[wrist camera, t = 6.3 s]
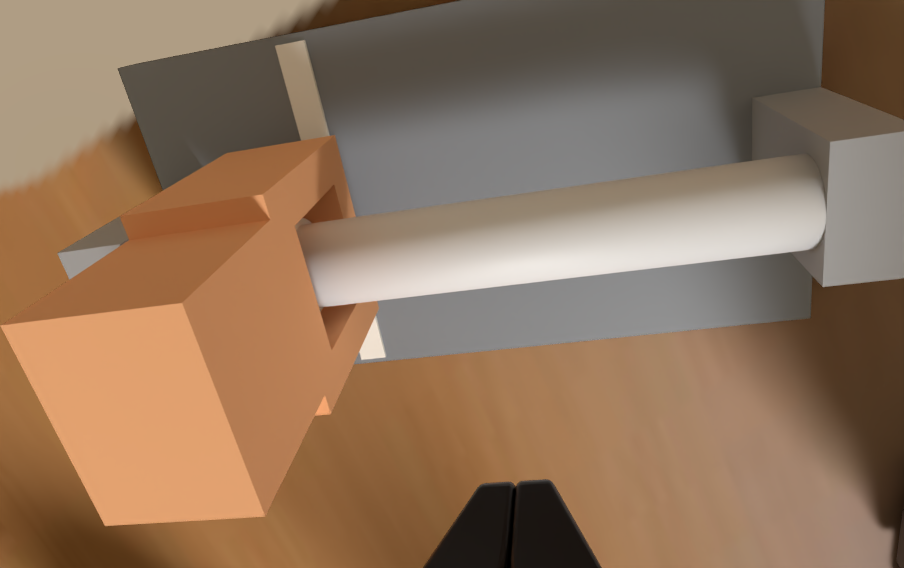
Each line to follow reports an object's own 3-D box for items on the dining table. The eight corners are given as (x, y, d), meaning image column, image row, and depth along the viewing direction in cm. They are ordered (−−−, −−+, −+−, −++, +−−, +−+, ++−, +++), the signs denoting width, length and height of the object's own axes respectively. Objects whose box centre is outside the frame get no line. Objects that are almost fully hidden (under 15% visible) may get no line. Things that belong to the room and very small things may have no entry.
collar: (335, 135, 17) (169, 271, 9) (379, 308, 19) (274, 538, 11) (226, 152, 17) (-15, 295, 10) (280, 319, 19) (115, 547, 12)
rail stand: (808, -69, 16) (955, -91, 10) (795, 299, 20) (896, 424, 14) (140, 62, 19) (-19, 99, 14) (246, 357, 23) (156, 478, 18)
